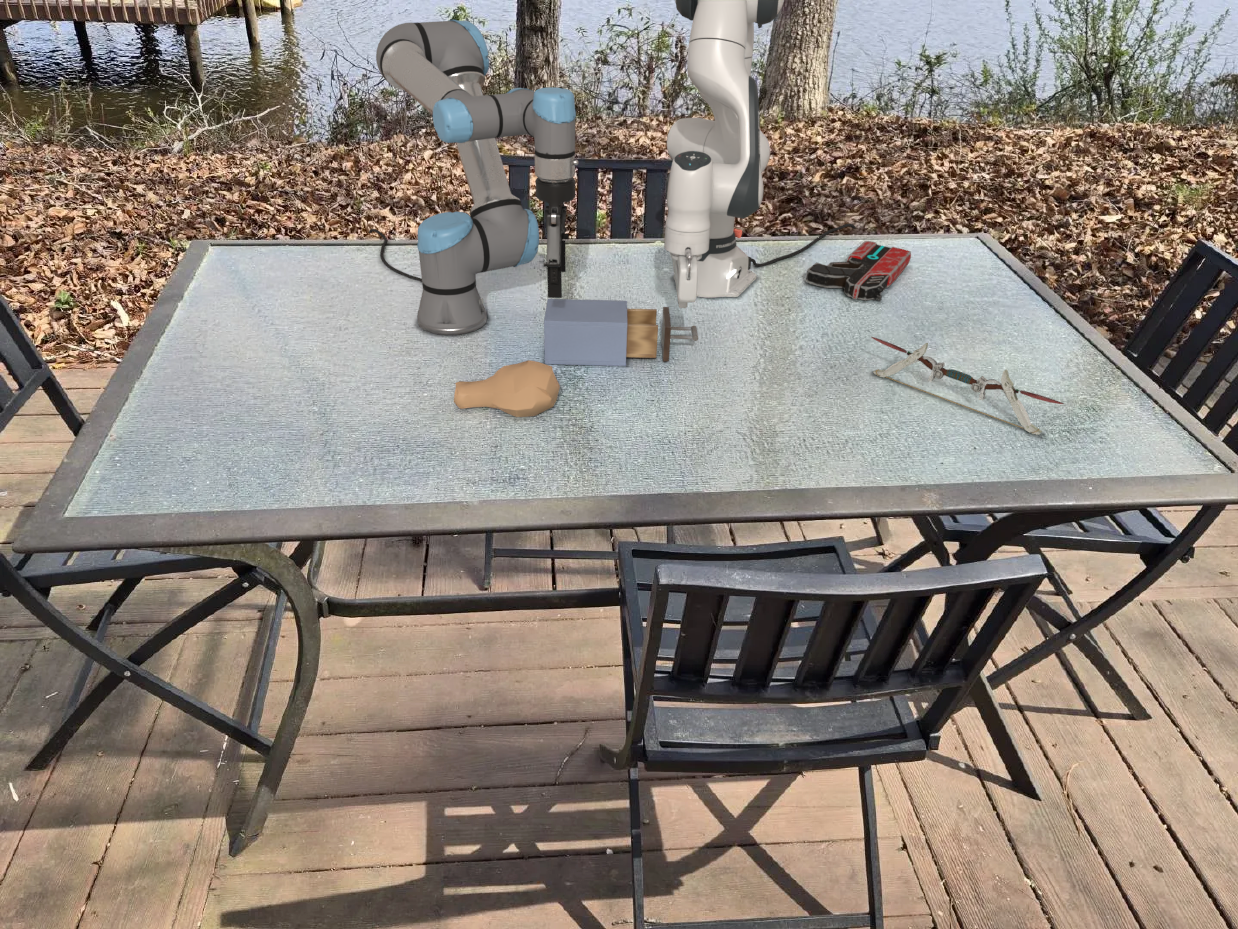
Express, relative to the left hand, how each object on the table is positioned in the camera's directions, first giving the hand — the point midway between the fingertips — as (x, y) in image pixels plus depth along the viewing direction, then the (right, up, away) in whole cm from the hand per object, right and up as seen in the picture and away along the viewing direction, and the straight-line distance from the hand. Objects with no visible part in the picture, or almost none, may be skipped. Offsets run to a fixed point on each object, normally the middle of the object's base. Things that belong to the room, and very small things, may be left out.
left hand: (557, 283), depth 177 cm
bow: (+78, -25, -6) cm, 82 cm away
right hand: (+26, -4, +3) cm, 26 cm away
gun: (+74, +12, +48) cm, 90 cm away
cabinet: (+6, -13, +9) cm, 16 cm away
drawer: (+18, -12, +8) cm, 23 cm away
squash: (-9, -26, -12) cm, 30 cm away
